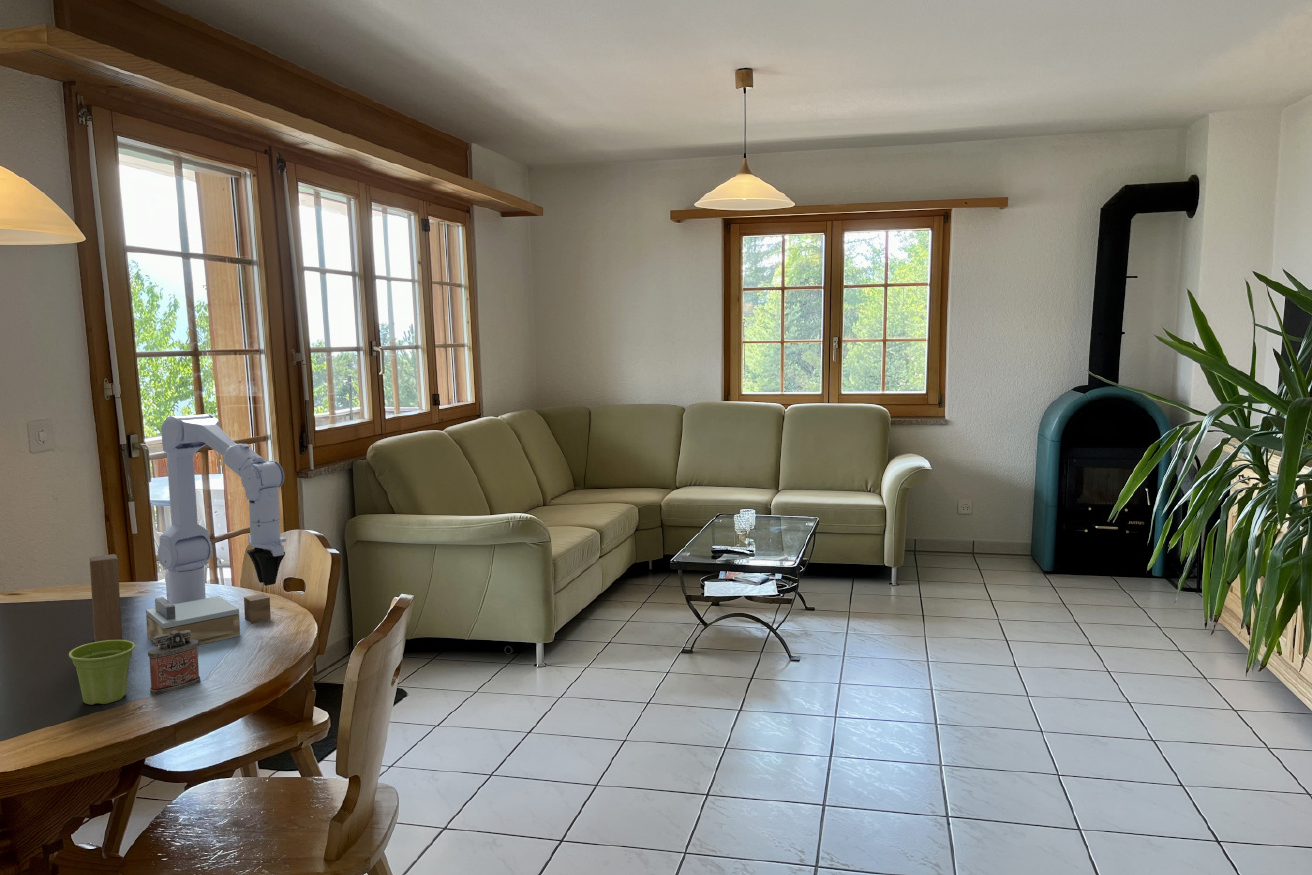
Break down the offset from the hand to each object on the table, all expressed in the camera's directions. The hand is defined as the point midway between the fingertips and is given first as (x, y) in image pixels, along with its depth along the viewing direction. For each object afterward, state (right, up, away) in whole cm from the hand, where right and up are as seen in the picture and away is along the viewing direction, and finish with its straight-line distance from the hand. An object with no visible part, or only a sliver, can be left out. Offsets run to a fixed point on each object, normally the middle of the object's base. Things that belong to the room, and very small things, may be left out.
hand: (267, 583), depth 184 cm
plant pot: (-11, -14, -36) cm, 40 cm away
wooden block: (-27, -11, -10) cm, 31 cm away
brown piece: (-13, -10, -5) cm, 17 cm away
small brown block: (-5, -9, +6) cm, 12 cm away
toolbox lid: (-13, -5, -6) cm, 15 cm away
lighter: (-2, -13, -31) cm, 34 cm away
